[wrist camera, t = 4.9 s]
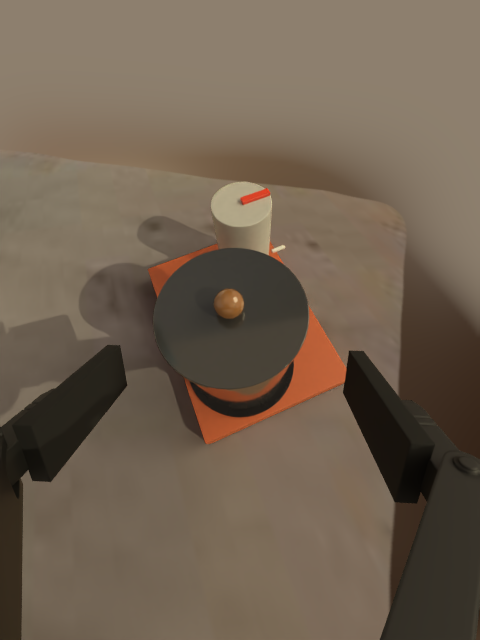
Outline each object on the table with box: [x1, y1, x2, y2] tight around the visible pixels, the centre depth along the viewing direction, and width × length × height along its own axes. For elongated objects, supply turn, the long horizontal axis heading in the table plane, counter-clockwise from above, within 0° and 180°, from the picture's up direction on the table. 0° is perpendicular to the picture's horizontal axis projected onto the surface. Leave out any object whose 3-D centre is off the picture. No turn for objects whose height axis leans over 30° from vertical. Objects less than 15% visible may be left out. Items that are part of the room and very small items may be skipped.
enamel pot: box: [153, 248, 309, 409], centre depth 18 cm, size 8×8×11 cm
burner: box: [189, 360, 294, 417], centre depth 24 cm, size 9×9×1 cm
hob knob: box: [211, 182, 272, 255], centre depth 25 cm, size 5×5×8 cm
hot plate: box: [148, 242, 347, 444], centre depth 27 cm, size 19×14×2 cm
